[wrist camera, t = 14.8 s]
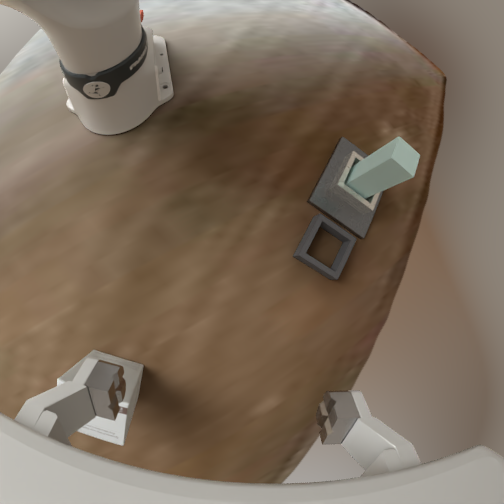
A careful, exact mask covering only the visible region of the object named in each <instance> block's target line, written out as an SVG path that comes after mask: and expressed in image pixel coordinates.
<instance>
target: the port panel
mask: <svg viewBox="0 0 504 504" xmlns="http://www.w3.org/2000/svg"><path fill="white" fill-rule="evenodd" d="M366 157H368V155H367V154H365V153H364V152H363V151H361V150H360V149H359V148H357V147H356V146H355V145H353V144H352V143H351V142H349V141H348V140H347V139H345V138H344V137H341V138H340V139H339V141H338V143H337V145H336V147H335V149H334V151H333V153H332V155H331V157H330V159H329V161H328V163H327V165H326V167H325V169H324V171H323V173H322V174H321V176H320V178H319V180H318V182H317V184H316V186H315V188H314V190H313V192H312V194H311V195H310V197H309V199H308V201H307V202H308V203H309V204H311V205H312V206H314V207H315V208H317V209H318V210H320V211H321V212H323V213H324V214H326V215H327V216H328V217H330V218H331V219H333V220H334V221H336V222H337V223H339V224H340V225H342V226H343V227H344V228H346V229H347V230H349V231H350V232H351V233H353V234H354V235H356V236H357V237H358V238H360V239H364V237H365V235H366V233H367V230H368V228H369V225H370V223H371V221H372V218H373V216H374V213H375V211H376V208H377V206H378V203H379V201H380V198H381V196H382V193H383V191H384V190H383V191H381V192H379V193H377V194H374V195H372V196H370V197H368V198H365V199H364V198H363V197H361V196H360V195H359V194H357V193H356V192H355V191H353V190H352V189H351V188H349V187H348V186H346V185H345V184H344V181H345V179H346V177H347V175H348V173H349V171H350V169H351V167H352V166H354V165H355V164H357V163H358V162H360V161H362V160H363V159H365V158H366Z"/></svg>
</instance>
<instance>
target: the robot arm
mask: <svg viewBox="0 0 504 504" xmlns="http://www.w3.org/2000/svg"><path fill="white" fill-rule="evenodd" d="M0 4H1V5H5V6H8V7H11V8H13V9H15V10H17V11H19V12H21V13H23V14H24V15H26V16H27V17H29V18H31V19H32V20H33V21H34V22H36V23H37V24H38V25H39V26H40V27H41V28H42V29H43V30H44V32H45V33H46V35H47V36H48V38H49V40H50V41H51V43H52V45H53V47H54V48H55V50H56V52H57V54H58V56H59V58H60V67H61V71H62V73H63V75H64V77H65V78H64V79H63V85H64V87H65V90H66V92H67V95H68V97H69V98H68V100H67V107H68V109H69V110H70V111H71V112H73V113H75V114H77V115H78V117H79V118H80V120H81V122H82V124H83V125H84V126H85V127H86V128H87V129H89V130H90V131H92V132H94V133H98V134H103V135H112V134H118V133H122V132H125V131H128V130H130V129H132V128H134V127H136V126H138V125H139V124H141V123H142V122H143V121H145V120H146V119H147V118H148V117H149V116H150V115H151V114H152V112H153V111H154V110H155V109H156V108H157V107H158V106H159V105H161V104H163V103H165V102H167V101H168V100H170V99H171V98H172V97H173V95H174V91H173V86H172V80H171V74H170V68H169V62H168V55H167V49H166V43H165V39H164V38H162V37H160V36H156V35H153V30H152V29H151V28H149V27H147V26H142V25H141V22H142V20H143V10H140V8H139V0H0ZM165 87H167V88H166V89H164V88H165ZM123 375H124V368H123V366H121V365H117V364H114V363H110V362H107V361H103V360H99V359H96V358H93V357H90V356H89V357H88V358H86V360H85V361H84V363H83V365H82V366H81V368H80V369H79V371H78V373H77V374H76V376H75V378H74V379H73V381H67V382H65V383H63V384H61V385H59V386H57V387H54V388H52V389H50V390H48V391H46V392H44V393H41V394H39V395H37V396H35V397H33V398H30V399H28V400H27V401H26V402H25V404H24V405H23V407H22V408H21V410H20V412H19V413H18V415H17V416H16V418H15V420H13V419H12V418H10V417H8V416H6V415H4V414H3V413H1V412H0V504H504V458H503V457H502V456H501V455H499V454H498V453H496V452H494V451H493V450H491V449H489V448H488V447H485V446H483V445H477V446H474V447H472V448H469V449H466V450H463V451H461V452H458V453H455V454H452V455H449V456H447V457H444V458H440V459H437V460H434V461H431V462H428V463H424V464H421V462H420V459H419V457H418V455H417V453H416V451H415V448H414V446H413V444H411V443H410V442H409V441H408V440H406V439H405V438H403V437H402V436H400V435H399V434H398V433H396V432H395V431H394V430H392V429H391V428H390V427H388V426H387V425H385V424H384V423H383V422H381V421H380V420H379V419H377V418H376V417H372V415H371V413H370V411H369V408H368V406H367V403H366V401H365V399H364V396H363V394H362V392H361V391H360V390H351V391H326V392H325V393H324V395H323V400H324V401H323V402H322V403H320V404H319V406H318V408H317V413H316V420H317V424H318V425H319V426H320V427H321V428H322V429H321V431H320V432H319V433H320V437H321V441H322V444H341V446H342V447H343V448H344V449H345V450H346V451H347V452H348V453H349V454H350V455H351V456H352V457H353V458H354V459H355V460H356V461H357V462H358V463H359V464H360V465H361V466H362V467H363V468H364V469H365V472H364V473H363V474H362V475H361V477H358V478H351V479H344V480H336V481H325V482H313V483H292V484H258V483H237V482H224V481H213V480H205V479H197V478H190V477H183V476H177V475H172V474H166V473H161V472H156V471H152V470H147V469H143V468H139V467H135V466H131V465H127V464H123V463H120V462H116V461H113V460H110V459H106V458H103V457H100V456H97V455H94V454H91V453H88V452H85V451H83V450H80V449H77V448H74V447H72V445H71V443H70V442H69V440H68V438H67V437H69V436H70V435H72V434H73V433H74V432H76V431H77V430H79V429H80V428H81V427H83V426H84V425H86V424H87V423H88V422H90V421H91V420H92V419H94V418H95V417H96V416H98V417H102V418H105V419H109V420H113V421H115V420H116V417H117V415H118V412H119V410H120V409H119V403H121V402H123V399H124V397H125V392H126V381H125V379H124V378H123Z"/></svg>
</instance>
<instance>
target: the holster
mask: <svg viewBox="0 0 504 504" xmlns="http://www.w3.org/2000/svg"><path fill="white" fill-rule="evenodd" d="M319 227H321V228H323V229H324V230H326V231H327V232H329V233H330V234H332V235H333V236H335V237H336V238H337V239H339V240H340V241H342V242H343V243H342V245H341V248H340V250H339V252H338V254H337V256H336V258H335V260H334V262H333V264H332V266H331V268H328V267H327V266H325V265H324V264H322V263H321V262H319V261H317V260H316V259H314V258H313V257H311V256H309V255H308V254H306V252H307V250H308V248H309V246H310V244H311V242H312V240H313V238H314V236H315V235H316V233H317V231H318V229H319ZM355 241H356V238H355V237H353V236H352V235H351V234H349V233H348V232H346V231H345V230H343V229H342V228H341V227H339V226H338V225H336V224H335V223H333V222H332V221H330V220H329V219H328V218H326V217H325V216H323V215H322V214H318V215H316V216H314V217H313V219H312V221H311V223H310V225H309V227H308V228H307V230H306V232H305V234H304V236H303V238H302V240H301V242H300V244H299V246H298V248H297V249H296V251H295V253H294V255H293V257H295V258H296V259H298V260H299V261H301V262H303V263H304V264H306V265H308V266H309V267H311V268H312V269H314V270H316V271H317V272H319V273H320V274H322V275H324V276H325V277H327V278H328V279H330V280H338V278H339V276H340V274H341V272H342V270H343V268H344V265H345V263H346V261H347V259H348V257H349V255H350V252H351V250H352V248H353V246H354V244H355Z"/></svg>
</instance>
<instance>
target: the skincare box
mask: <svg viewBox="0 0 504 504" xmlns="http://www.w3.org/2000/svg"><path fill="white" fill-rule="evenodd" d="M89 356H90V357H93V358H96V359H99V360H103V361H107V362H110V363H114V364H117V365H121V366H123V368H124V375H123V378H124V379H125V381H126V392H125V397H124V399H123V402H121V403H119V409H120V410H119V412H118V415H117V417H116V420H115V421H113V420H109V419H105V418H102V417H98V416H96V417H95V418H94V419H92V420H91V421H90V422H88V423H87V424H86V425H84V426H83V427H81V428H80V429H79V430H77V431H78V432H81V433H84V434H87V435H90V436H93V437H96V438H99V439H102V440H105V441H108V442H112V443H115V444H118V445H122V446H123V445H124V443H125V439H126V436H127V433H128V430H129V426H130V422H131V419H132V416H133V412H134V409H135V406H136V403H137V400H138V396H139V390H140V384H141V378H142V373H143V367H144V365H142V364H139V363H136V362H132V361H129V360H126V359H122V358H119V357H116V356H113V355H109V354H106V353H102V352H99V351H97V350H93V351H92V352H90V353H89V354H88V355H87V356H86V357H84V358H83V359H82V360H81V361H79V362H78V363H77V364H76V365H74V366H73V367H72V368H71V369H70V370H68V371H67V372H66V373H65V374H64V375H62V376H61V377H60V378H58V379H57V386H59V385H61V384H63V383H65V382H67V381H73V379H74V378H75V376H76V374H77V373H78V371H79V369H80V368H81V366H82V365H83V363H84V361H85V360H86V358H88V357H89Z"/></svg>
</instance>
